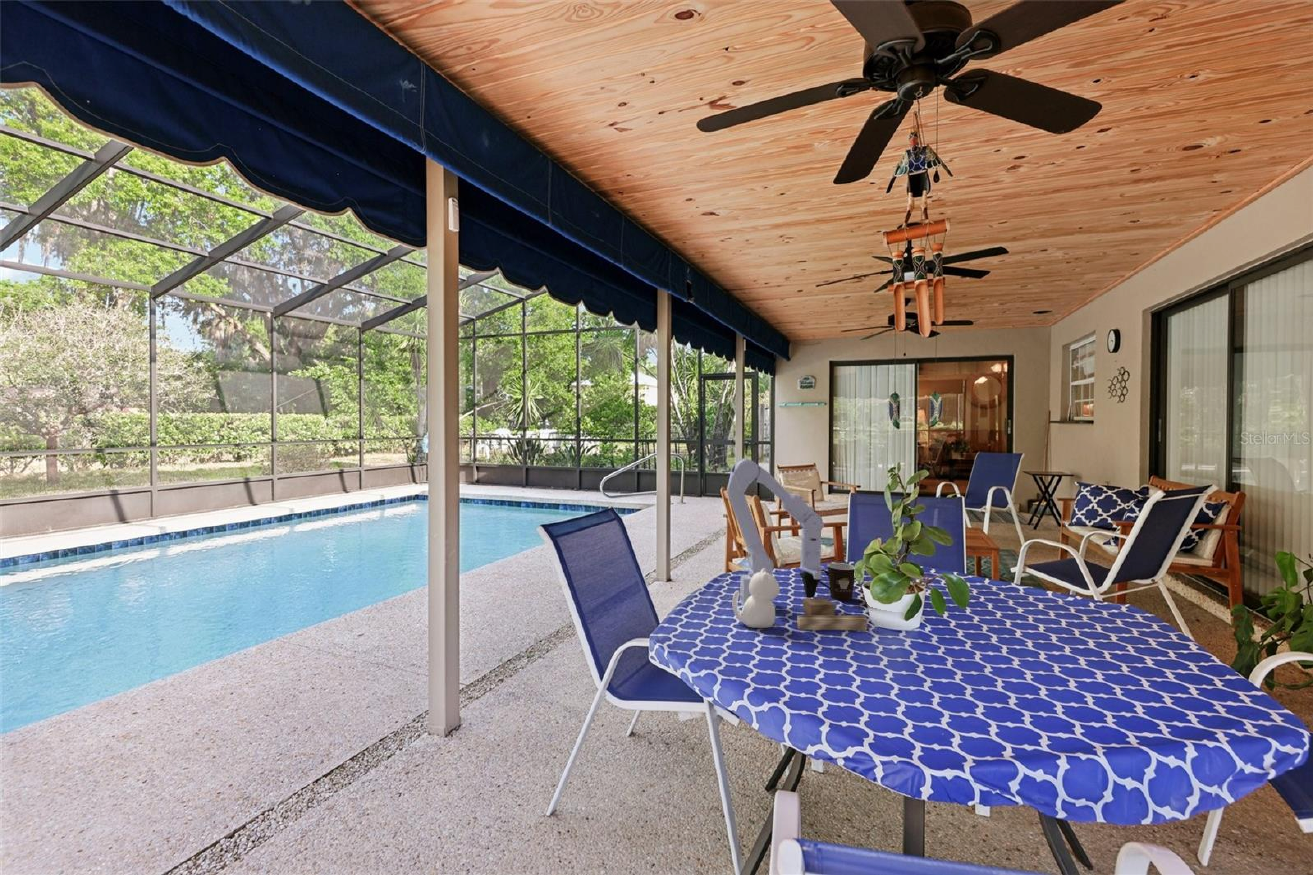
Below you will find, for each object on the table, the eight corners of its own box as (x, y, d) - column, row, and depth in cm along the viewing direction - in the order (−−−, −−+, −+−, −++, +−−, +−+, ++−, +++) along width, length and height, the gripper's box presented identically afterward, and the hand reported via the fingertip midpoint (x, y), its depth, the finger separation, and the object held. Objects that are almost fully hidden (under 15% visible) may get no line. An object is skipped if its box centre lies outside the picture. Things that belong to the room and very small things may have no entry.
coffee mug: (858, 596, 186) (859, 565, 185) (851, 603, 178) (852, 571, 178) (821, 591, 192) (822, 560, 192) (813, 597, 184) (814, 565, 184)
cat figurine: (780, 632, 153) (782, 575, 152) (731, 629, 154) (733, 572, 154) (776, 621, 162) (778, 567, 161) (731, 618, 163) (733, 564, 163)
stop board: (799, 629, 155) (799, 617, 154) (797, 626, 157) (797, 614, 157) (867, 630, 155) (867, 617, 155) (863, 626, 158) (863, 614, 158)
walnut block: (810, 619, 164) (811, 604, 164) (802, 612, 170) (803, 598, 170) (834, 618, 165) (834, 604, 165) (825, 611, 171) (826, 598, 171)
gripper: (832, 557, 169) (831, 604, 169) (816, 547, 183) (815, 590, 183) (807, 557, 168) (806, 604, 169) (794, 546, 183) (793, 590, 183)
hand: (810, 597), depth 176 cm, fingers closed
